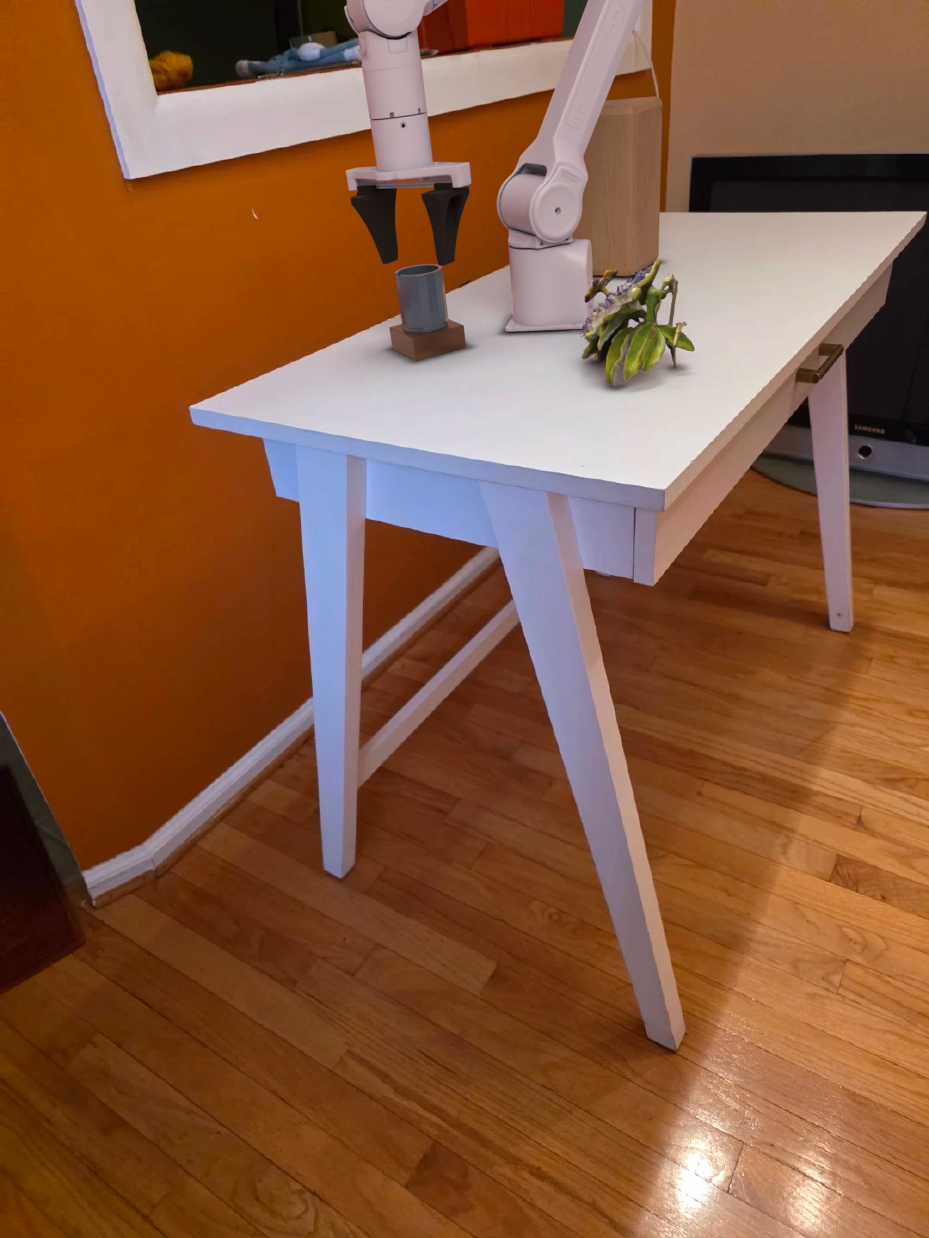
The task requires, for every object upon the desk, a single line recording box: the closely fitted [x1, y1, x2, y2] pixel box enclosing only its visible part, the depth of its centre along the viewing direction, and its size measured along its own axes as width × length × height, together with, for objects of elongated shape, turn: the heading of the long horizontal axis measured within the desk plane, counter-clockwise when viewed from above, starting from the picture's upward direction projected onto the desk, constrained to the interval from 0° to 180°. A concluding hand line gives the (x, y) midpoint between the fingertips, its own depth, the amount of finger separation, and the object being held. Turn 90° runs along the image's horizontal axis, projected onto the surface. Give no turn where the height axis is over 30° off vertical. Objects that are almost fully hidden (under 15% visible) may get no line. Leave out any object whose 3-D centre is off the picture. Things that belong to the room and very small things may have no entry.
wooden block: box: [572, 95, 664, 278], centre depth 109 cm, size 10×10×20 cm
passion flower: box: [579, 259, 696, 388], centre depth 79 cm, size 11×11×12 cm
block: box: [388, 318, 467, 362], centre depth 93 cm, size 6×6×2 cm
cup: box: [394, 263, 449, 333], centre depth 90 cm, size 5×5×6 cm
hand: (417, 262), depth 88 cm, fingers open, 7 cm apart
